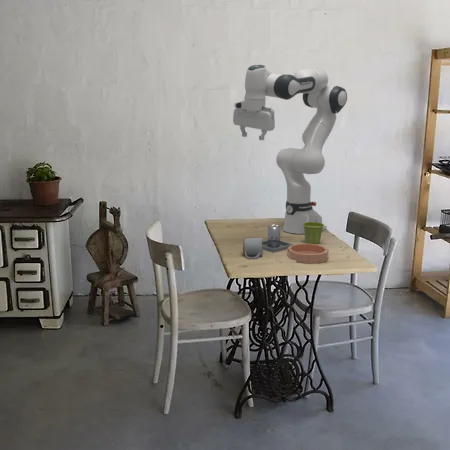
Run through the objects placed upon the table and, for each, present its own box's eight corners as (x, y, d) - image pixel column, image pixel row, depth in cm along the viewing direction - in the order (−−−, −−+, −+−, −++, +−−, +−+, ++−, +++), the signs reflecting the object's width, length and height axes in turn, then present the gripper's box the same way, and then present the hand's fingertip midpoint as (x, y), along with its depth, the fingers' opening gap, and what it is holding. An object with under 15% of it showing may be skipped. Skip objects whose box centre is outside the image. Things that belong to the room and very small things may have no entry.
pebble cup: (273, 244, 250) (274, 222, 247) (282, 247, 246) (283, 224, 243) (264, 246, 247) (265, 224, 244) (273, 249, 243) (274, 226, 240)
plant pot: (323, 241, 258) (324, 222, 256) (322, 246, 249) (323, 227, 247) (302, 239, 260) (303, 221, 257) (301, 245, 251) (301, 226, 249)
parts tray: (274, 242, 255) (274, 238, 254) (293, 248, 246) (293, 244, 245) (253, 247, 247) (254, 243, 247) (273, 254, 238) (273, 249, 238)
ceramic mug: (243, 252, 240) (243, 235, 238) (262, 253, 239) (263, 235, 237) (242, 260, 230) (242, 242, 228) (262, 261, 229) (262, 243, 227)
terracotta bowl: (306, 249, 245) (307, 241, 244) (335, 258, 233) (336, 250, 232) (279, 256, 235) (280, 248, 234) (308, 265, 223) (308, 257, 222)
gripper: (279, 107, 235) (276, 141, 240) (241, 102, 248) (239, 133, 252) (269, 109, 231) (267, 143, 235) (231, 103, 243) (230, 135, 248)
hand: (252, 138), depth 244 cm, fingers open, 8 cm apart
